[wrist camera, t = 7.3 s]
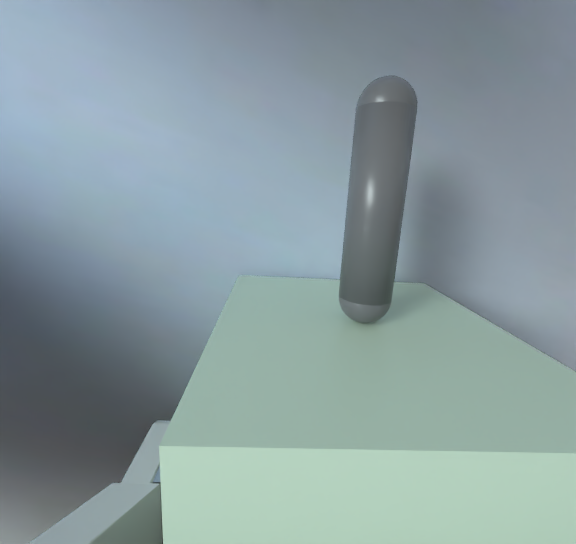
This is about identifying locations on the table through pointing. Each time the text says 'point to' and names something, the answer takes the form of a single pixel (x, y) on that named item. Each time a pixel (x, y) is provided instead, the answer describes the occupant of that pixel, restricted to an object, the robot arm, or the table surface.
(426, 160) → the table surface
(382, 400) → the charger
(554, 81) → the table surface
